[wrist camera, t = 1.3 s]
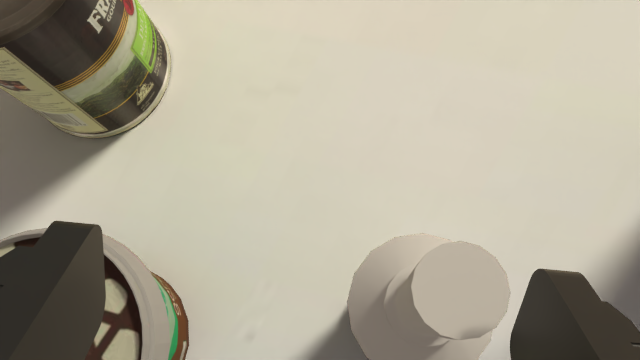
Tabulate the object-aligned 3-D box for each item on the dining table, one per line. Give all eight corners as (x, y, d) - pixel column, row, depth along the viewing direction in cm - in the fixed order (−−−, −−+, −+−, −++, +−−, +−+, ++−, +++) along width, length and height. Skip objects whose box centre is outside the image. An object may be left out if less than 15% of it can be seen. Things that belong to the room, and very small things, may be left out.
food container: (248, 316, 37) (208, 311, 27) (191, 401, 36) (127, 427, 26) (102, 212, 39) (18, 174, 30) (44, 289, 38) (-63, 275, 29)
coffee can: (162, -5, 43) (70, -159, 30) (180, 122, 41) (89, 17, 27) (28, 24, 44) (-124, -115, 30) (38, 152, 41) (-125, 63, 27)
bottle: (416, 375, 35) (533, 471, 11) (340, 336, 36) (295, 347, 12) (450, 297, 36) (624, 232, 12) (375, 261, 37) (398, 133, 13)
